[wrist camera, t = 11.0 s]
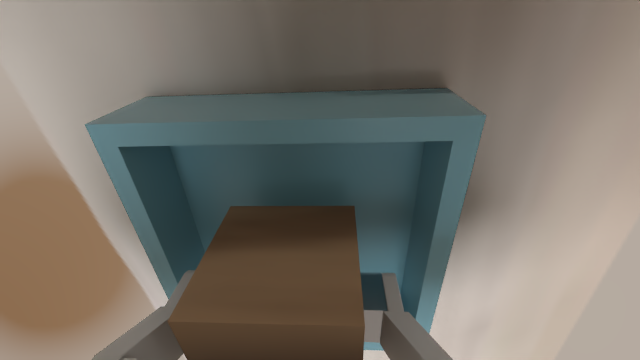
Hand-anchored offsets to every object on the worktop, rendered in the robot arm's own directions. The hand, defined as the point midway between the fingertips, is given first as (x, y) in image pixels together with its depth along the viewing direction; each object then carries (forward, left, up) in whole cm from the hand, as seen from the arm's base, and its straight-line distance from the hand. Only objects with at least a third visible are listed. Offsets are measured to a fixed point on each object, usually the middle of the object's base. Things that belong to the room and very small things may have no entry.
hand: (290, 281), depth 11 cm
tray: (0, 0, -4) cm, 5 cm away
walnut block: (0, 0, -2) cm, 2 cm away
